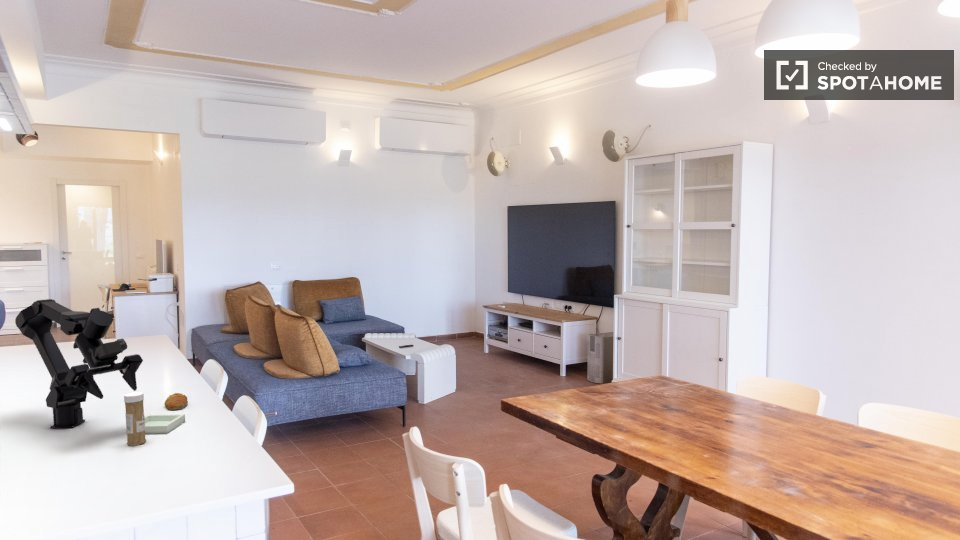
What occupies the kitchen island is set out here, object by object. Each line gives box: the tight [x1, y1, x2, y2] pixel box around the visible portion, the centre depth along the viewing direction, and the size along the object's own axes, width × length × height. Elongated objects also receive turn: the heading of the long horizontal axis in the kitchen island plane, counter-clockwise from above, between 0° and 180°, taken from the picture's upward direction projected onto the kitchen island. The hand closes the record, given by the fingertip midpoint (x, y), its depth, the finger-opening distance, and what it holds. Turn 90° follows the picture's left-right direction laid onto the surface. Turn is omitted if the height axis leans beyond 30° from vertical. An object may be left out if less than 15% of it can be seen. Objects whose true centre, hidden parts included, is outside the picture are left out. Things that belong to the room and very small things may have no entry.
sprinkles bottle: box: [123, 391, 147, 447], centre depth 171 cm, size 5×5×13 cm
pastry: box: [164, 392, 189, 411], centre depth 206 cm, size 9×7×4 cm
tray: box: [144, 413, 186, 435], centre depth 185 cm, size 11×11×2 cm
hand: (119, 393), depth 174 cm, fingers open, 9 cm apart
